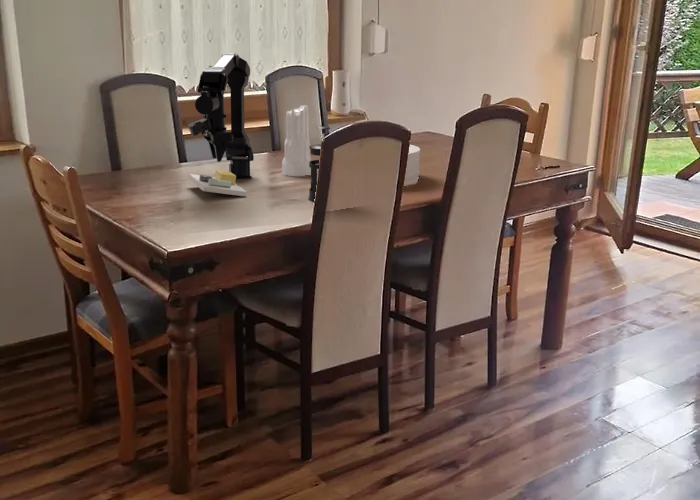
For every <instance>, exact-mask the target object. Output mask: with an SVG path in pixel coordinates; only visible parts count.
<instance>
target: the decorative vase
mask: <svg viewBox="0 0 700 500" xmlns="http://www.w3.org/2000/svg"><path fill="white" fill-rule="evenodd" d="M308 106H309V105H308V104H304V105H299V107H298V108H295V107H292V108H291V110H287V111H286V115H285V126H286V127H285V140H284V157H283V158H282V161H281V162H282V163H281V171H282V172H281V174H282V175H283V174H284V175H283V176H287V175H288V176H287V177H306V176H305V175H309V174H311V167H309V162H310V161H312V157H311V149H310V148H309V146H311V139H310V136H309V135H310V131H309V130H310V129H309V127H310V121H309V120H310V113H309V107H308ZM309 176H310V175H309Z"/></svg>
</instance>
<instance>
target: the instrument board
mask: <svg viewBox="0 0 700 500" xmlns="http://www.w3.org/2000/svg"><path fill="white" fill-rule="evenodd" d="M188 179H189V181H191V182H192V183H193V184H194V185H195V186H197V187H198V188H199V189H200V190H201V191H202V192H207V193H217V194H223V195H229V196H230V195H232V196H239V197H247V194H248V191H247V190H245V189H243V188H242V187H241V186H239V185H238V184H237V183H236V182H237V181H236V180H237V179H236V175H234V174H233V173H231V172H229V171H226V170H219V169H216V170H215V174H214V177H213V176H211V175H208V174H207V175H206V174H200V175H199V174H193V173H189V174H188Z"/></svg>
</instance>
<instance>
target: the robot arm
mask: <svg viewBox="0 0 700 500" xmlns="http://www.w3.org/2000/svg"><path fill="white" fill-rule="evenodd" d="M250 76H251V67H250V65H249V63H248V61H246V60H244V58H241V57H240V55H239V54H237V53H236V52H235V53H234V52H233V53H230V52H225V53H222V55H221V58H220V59H218V61H217V62H216V63H215V65H214V66H210V67H207V68H204V69H203V70H202V72H201V73H200V77H199V82H198V87H197V93H198V94H199V93H200V95H199V96H198V97H197V98H196V100H195V102H194V106H195V109H196V111H197V112H198V114H201V115H203V118H200V119H198V120H195V121H192V122H190V123H189V124H187V127H188V130H189V132H190V135H191V136H193V137H194V136H195V137H196V136H198V135H199V134H200V135H202V138H203V139H204V140H205V141H207V144H208V147H209V150H210V153H211V157H212V158H213V159H216V161H217V162H218V163H219V162H222V159H223V158H224V154H225V157H226V161H229V162H230V163H228V172H231V173H233V174H234V175H236V180H241V179H251V178H252V176H251V162H253V161H254V158H255V157H254V156H255V155H254V151H253V148H252V145H251V143H250V138H249V136H248V134H247V133H246V131H245V129H246V128H245V88H246V87H247V84H248V83H249V81H250V79H249V77H250ZM227 86H228V87H229V90H230V131H229V130H227V127H226V125H225V118H227V114H226V113H225V99H224V97H225V91H226V90H227V88H228V87H227Z"/></svg>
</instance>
